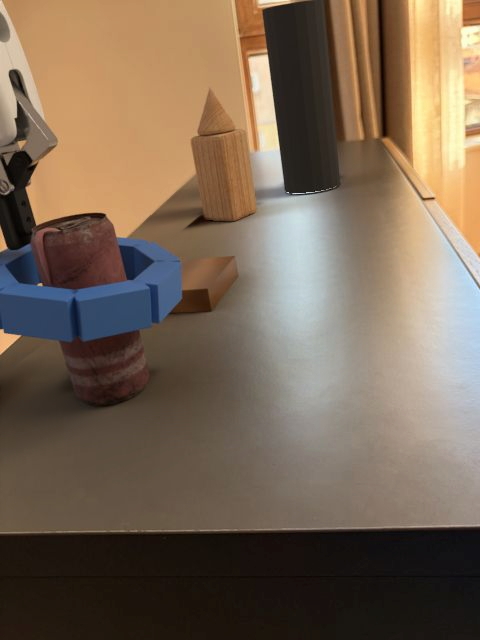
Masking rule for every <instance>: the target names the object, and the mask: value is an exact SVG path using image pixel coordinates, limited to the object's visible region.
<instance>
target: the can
mask: <svg viewBox="0 0 480 640" xmlns="http://www.w3.org/2000/svg"><path fill="white" fill-rule="evenodd" d="M31 231H32V237H31V242H30V245H31V249H32V252H33V255H34V259H35V262H36V265H37V269H38V272H39V275H40V279H41V282H42V283H41V286H46V287H55V288H63V289H71V290H78V289H84V288H89V287H95V286H101V285H107V284H113V283H119V282H124V281H127V279H126V274H125V270H124V266H123V262H122V258H121V254H120V250H119V245H118V241H117V237H118V236H117V234H116V229H115V226H114V223H113V222H112V221H111V220H110V219H109V217H107V214H106V213H104V212H86V213H77V214H71V215H67V216H61V217H58V218H53V219H50V220H47V221H43V222H42V223H39V224H36V226H35V227H34V228H32V230H31ZM58 343H59V345H60V349H61V352H62V355H63V359H64V363H65V366H66V368H67V372H68V375H69V379H70V382H71V386H72V389H73V392H74V395H75V396H76V397H77V398H78V399H79V400H80V401H81V402H83V403H84V404H86V405H89V406H94V407H96V406H97V407H102V406H112V405H117V404H121V403H123V402H126V401H128V400H130V399H133V398H134V397H136V396H138V395H140V394H141V393H142V392H143V391H144V390H145V389H146V388H147V385H148V383H149V380H150V377H151V374H150V370H149V367H148V366H149V365H148V361H147V358H146V353H145V350H144V345H143V341H142V337H141V333H140V330H136V331H132V332H127V333H122V334H117V335H113V336H108V337H103V338H99V339H94V340H89V341H85V342H83V341H82V340H81V339H80V338H79V337H77V338H75V339H74V340H73V341H72V342H65V341H58Z"/></svg>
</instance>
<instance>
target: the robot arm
mask: <svg viewBox="0 0 480 640" xmlns="http://www.w3.org/2000/svg"><path fill="white" fill-rule="evenodd" d="M23 141H25V142H24V144H23V145H22V147H21V148H20V145H19V143H18V142H23ZM58 142H59V141H58V137H57V135H55V132H53V131H52V129H51V128H50V126H49V125H48V124H47V123H46V117H45V113H44V110H43V106H42V101H41V99H40V95H39V92H38V89H37V86H36V83H35V80H34V77H33V73H32V70H31V68H30V65H29V62H28V59H27V57H26V53H25V51H24V49H23V46H22V43H21V40H20V38H19V36H18V33H17V30H16V27H15V26H14V24H13V22H12V19H11V17H10V15H9V13H8V11H7V9H6V7H5V4H4V2H3V0H0V230H1V234H2V236H3V240H4V243H5V246H6V249H7V248H8V249H10V250H19V249H21V248H23V247H24V246H26V245H28V244H30V242H31V237H32V231H31V230H32V228H34V227H35V226H37V222H36V219H35V215H34V212H33V209H32V205H31V201H30V198H29V195H28V191H27V188H28V187H30V185H31V184H32V176H33V174H34V172H35V170H36V168H37V167H38V164H39V162H40V161H41V160H43V159H44V158H45V157H46V156H47V155H49V153H51V152H52V151H53V150H54V149H56V147H57V146H58Z"/></svg>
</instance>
